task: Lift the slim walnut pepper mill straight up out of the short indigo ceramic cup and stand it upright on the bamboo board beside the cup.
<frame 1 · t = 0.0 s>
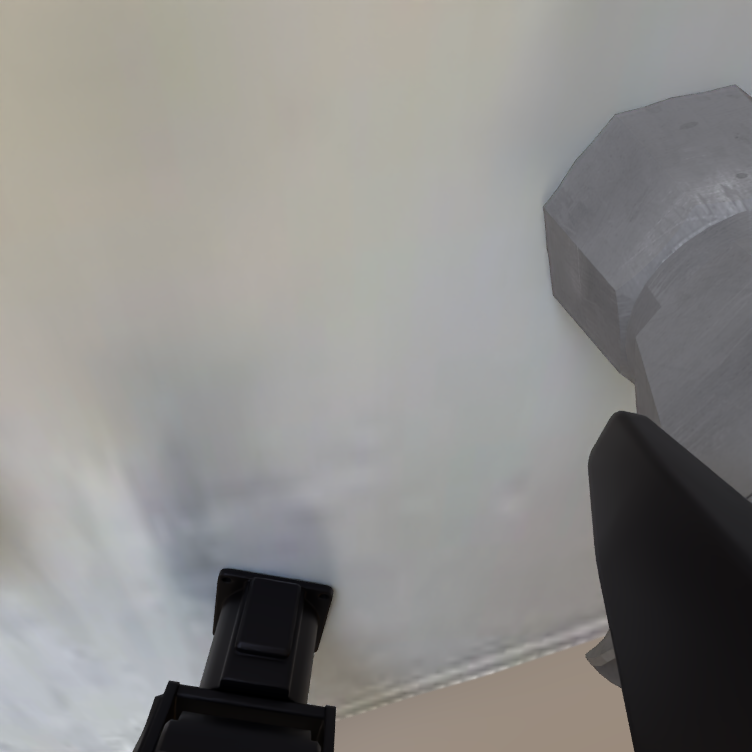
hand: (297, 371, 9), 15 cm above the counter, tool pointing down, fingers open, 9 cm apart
coffeepot: (697, 203, 22), on the counter
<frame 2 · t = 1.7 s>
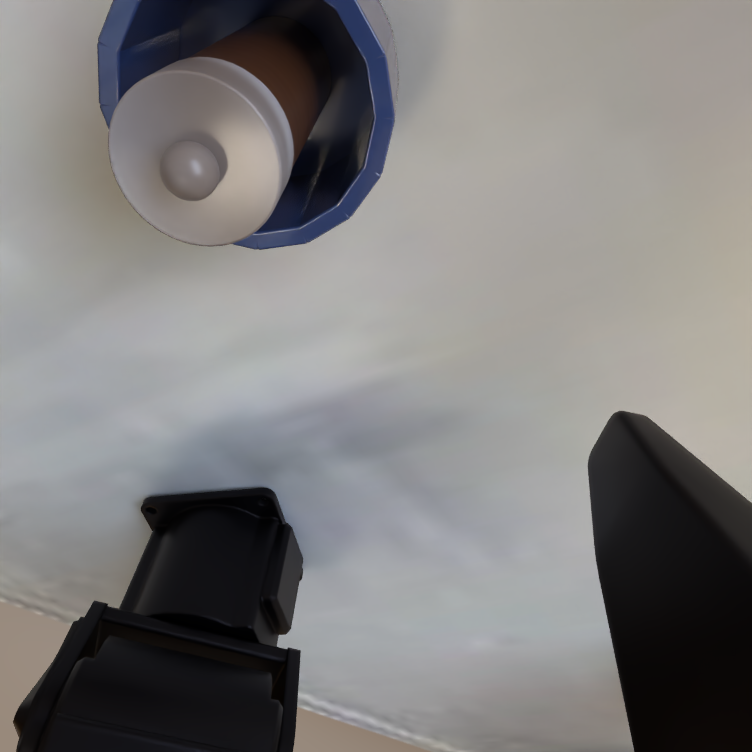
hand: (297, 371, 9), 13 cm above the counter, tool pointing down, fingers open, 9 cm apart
holder cup: (283, 72, 18), on the counter, touching pepper mill
pepper mill: (280, 75, 18), resting on holder cup
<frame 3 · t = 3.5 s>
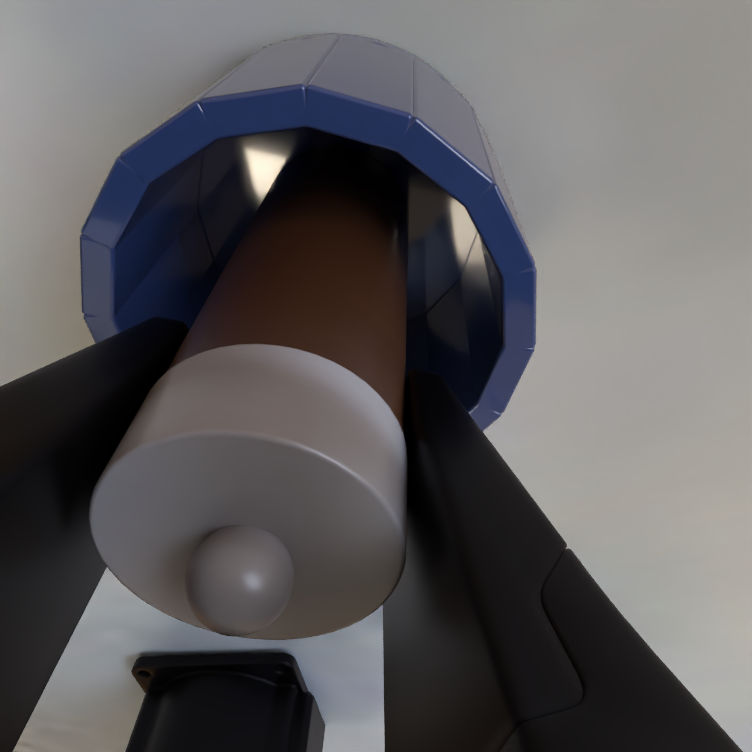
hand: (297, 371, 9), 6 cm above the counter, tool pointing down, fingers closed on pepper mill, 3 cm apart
holder cup: (339, 210, 13), on the counter, touching pepper mill
pepper mill: (337, 219, 13), resting on holder cup, touching gripper
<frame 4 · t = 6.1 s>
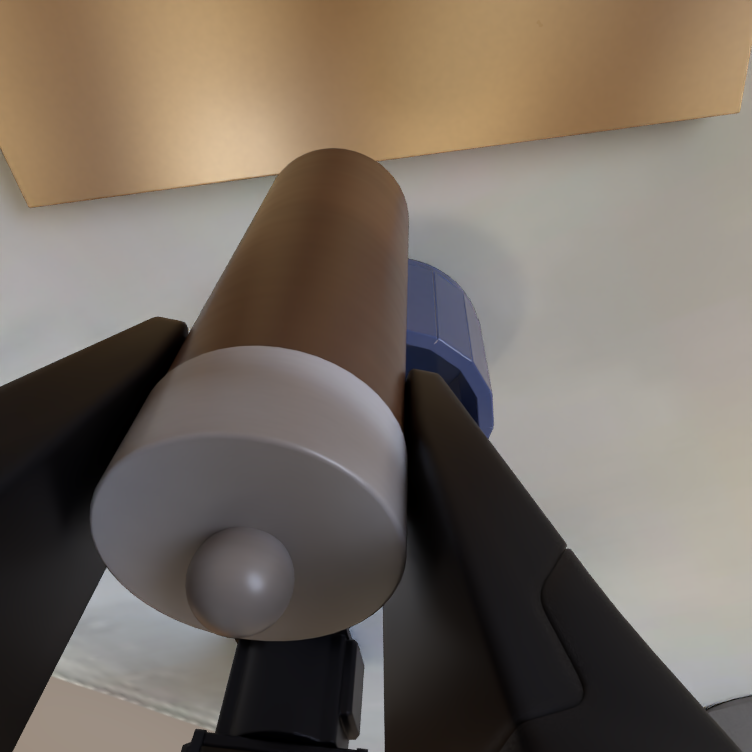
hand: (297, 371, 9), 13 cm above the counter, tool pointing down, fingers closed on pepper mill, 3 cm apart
holder cup: (390, 338, 24), on the counter
pepper mill: (337, 220, 13), point 8 cm above the counter, touching gripper
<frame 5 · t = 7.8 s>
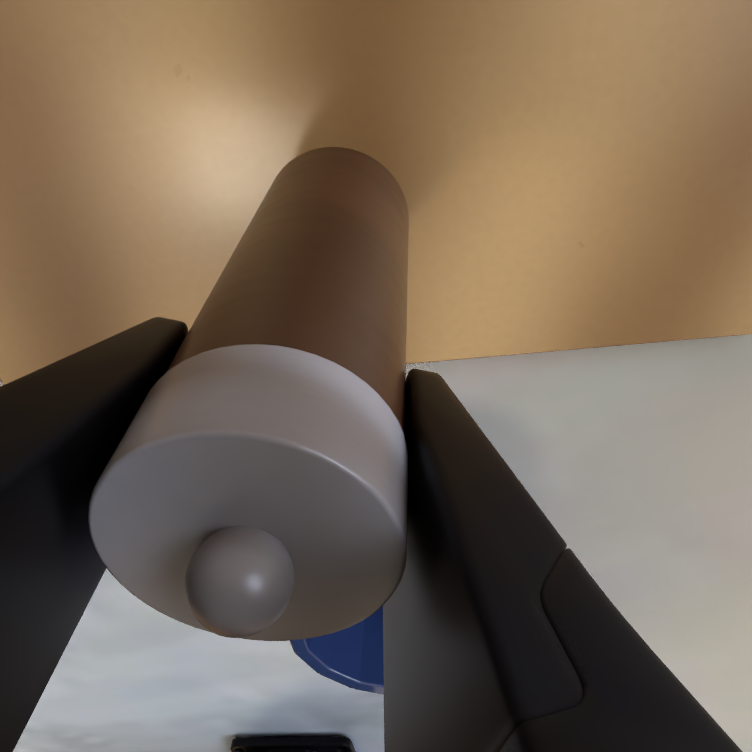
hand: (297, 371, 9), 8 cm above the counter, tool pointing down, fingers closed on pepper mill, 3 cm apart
holder cup: (404, 507, 22), on the counter
bamboo board: (334, 86, 14), on the counter
pepper mill: (337, 219, 13), point 3 cm above the counter, touching gripper
when the fingers open (7 cm above the counter, at t = 8.6 s): pepper mill stays where it is, resting on bamboo board.
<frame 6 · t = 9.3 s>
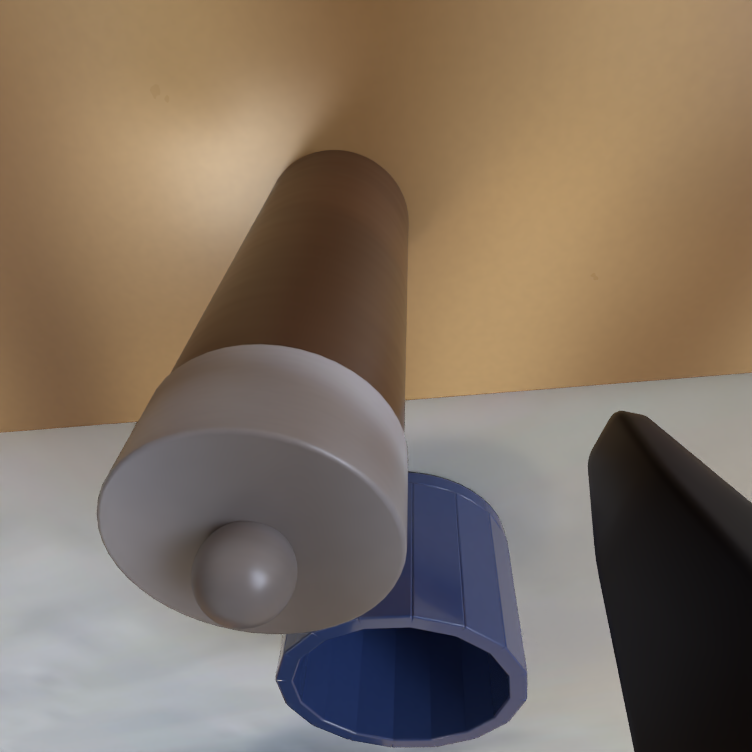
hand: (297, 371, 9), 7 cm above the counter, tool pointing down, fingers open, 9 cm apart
holder cup: (403, 543, 21), on the counter
bamboo board: (327, 107, 13), on the counter
pepper mill: (338, 221, 13), point 1 cm above the counter, touching bamboo board
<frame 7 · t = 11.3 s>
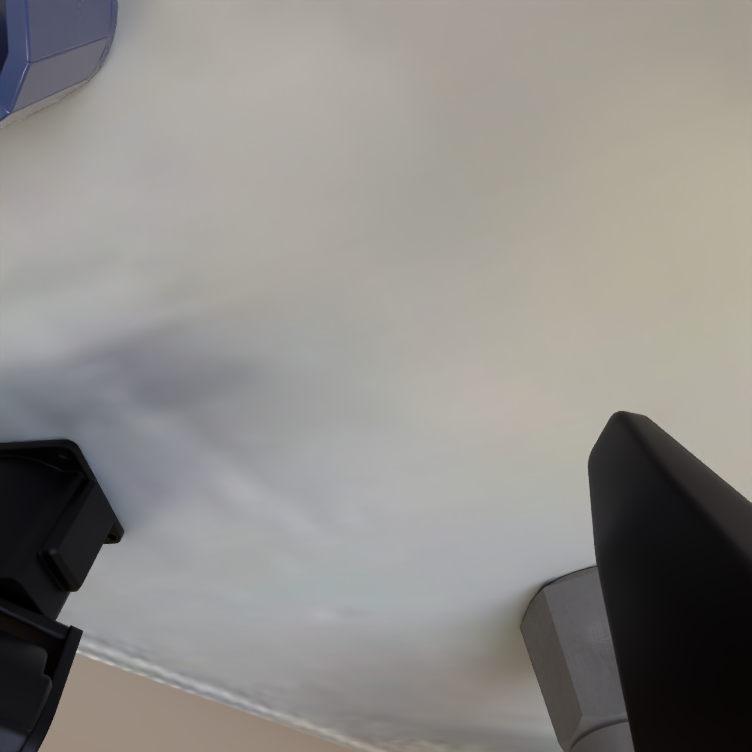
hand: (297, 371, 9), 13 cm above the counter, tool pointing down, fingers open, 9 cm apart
coffeepot: (621, 619, 33), on the counter
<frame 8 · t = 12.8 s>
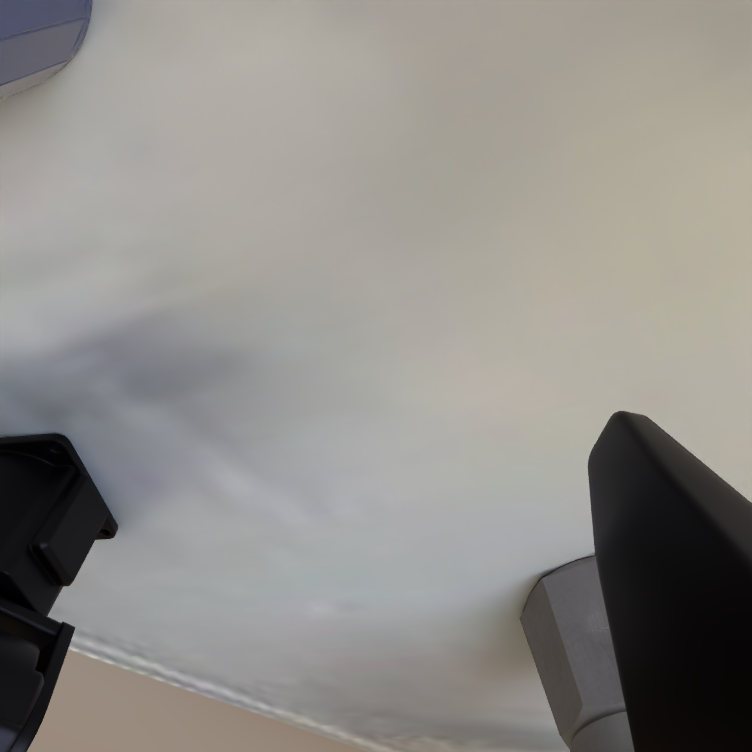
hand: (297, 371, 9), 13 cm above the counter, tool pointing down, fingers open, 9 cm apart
coffeepot: (622, 610, 33), on the counter
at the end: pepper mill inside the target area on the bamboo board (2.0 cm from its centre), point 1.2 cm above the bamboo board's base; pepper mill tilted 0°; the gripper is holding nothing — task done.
